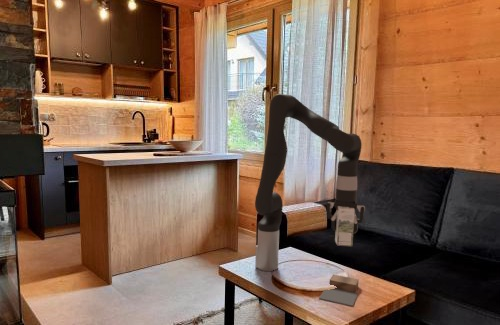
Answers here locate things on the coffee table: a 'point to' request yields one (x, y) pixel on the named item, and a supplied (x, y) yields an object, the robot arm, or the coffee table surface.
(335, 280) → the step block
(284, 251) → the coffee table surface
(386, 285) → the coffee table surface
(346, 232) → the syrup box
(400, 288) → the coffee table surface
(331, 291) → the mat
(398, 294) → the coffee table surface
